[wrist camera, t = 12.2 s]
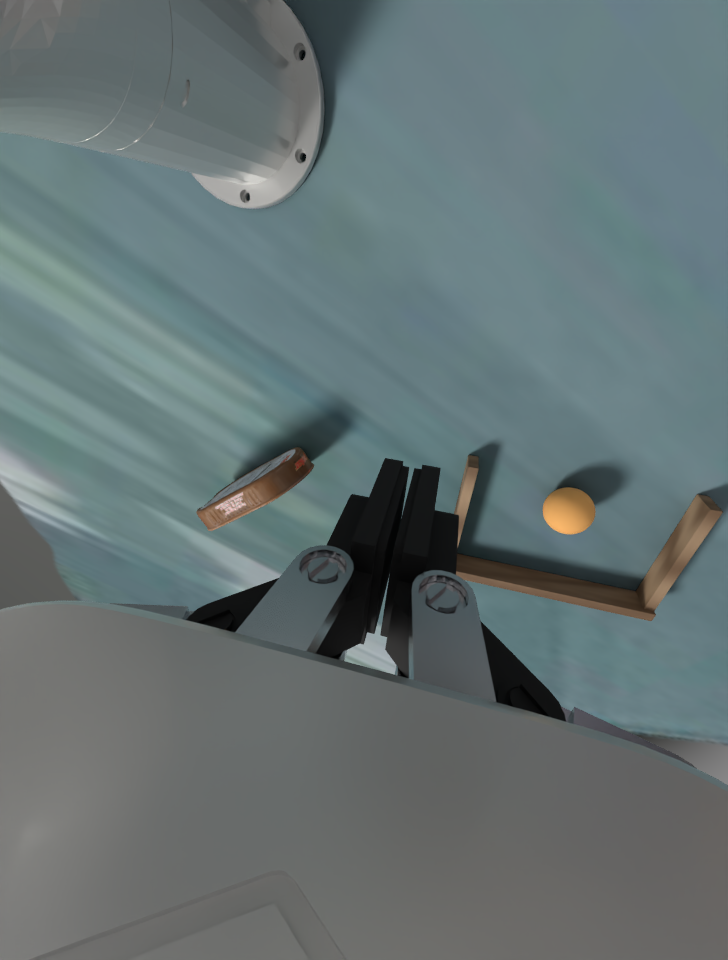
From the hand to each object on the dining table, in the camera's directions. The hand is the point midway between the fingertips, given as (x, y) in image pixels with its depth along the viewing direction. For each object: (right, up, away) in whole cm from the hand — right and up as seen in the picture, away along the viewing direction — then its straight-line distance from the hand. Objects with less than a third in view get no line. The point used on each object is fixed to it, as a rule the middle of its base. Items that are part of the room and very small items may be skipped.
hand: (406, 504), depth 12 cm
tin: (-12, +2, +35) cm, 37 cm away
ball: (+18, -2, +26) cm, 32 cm away
